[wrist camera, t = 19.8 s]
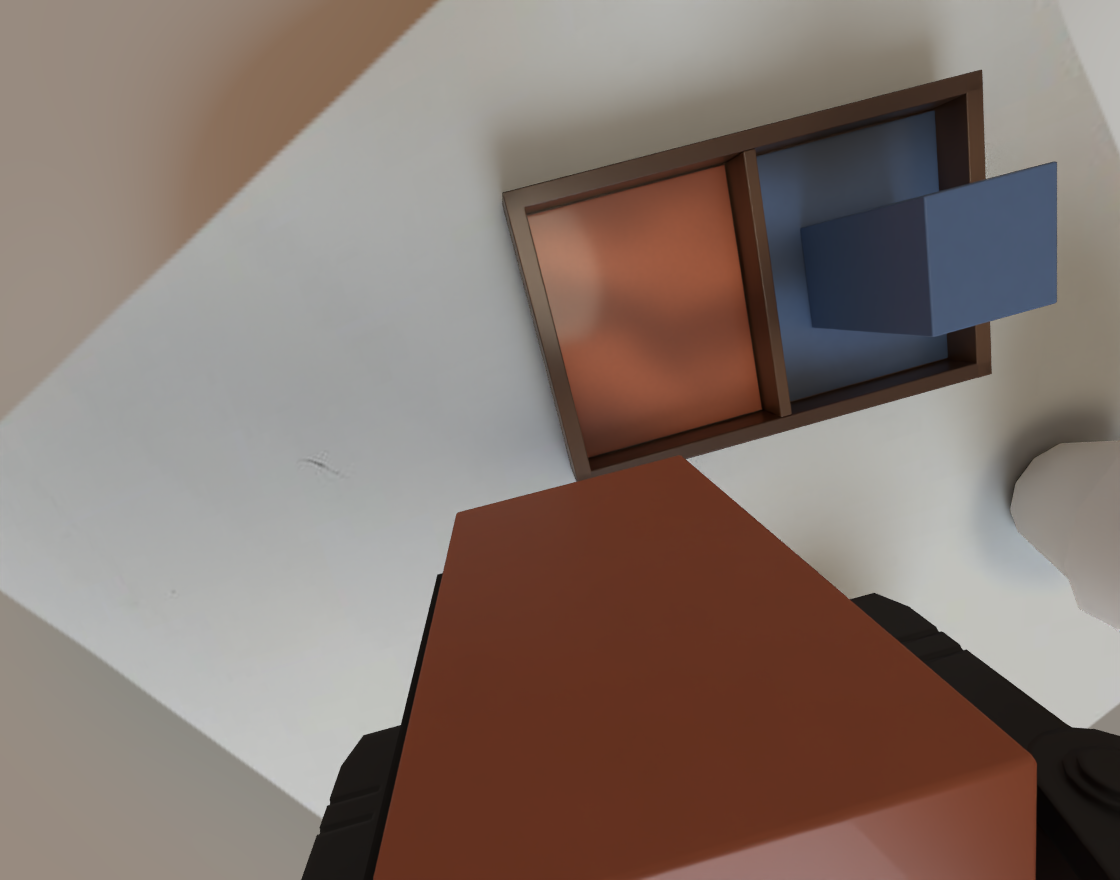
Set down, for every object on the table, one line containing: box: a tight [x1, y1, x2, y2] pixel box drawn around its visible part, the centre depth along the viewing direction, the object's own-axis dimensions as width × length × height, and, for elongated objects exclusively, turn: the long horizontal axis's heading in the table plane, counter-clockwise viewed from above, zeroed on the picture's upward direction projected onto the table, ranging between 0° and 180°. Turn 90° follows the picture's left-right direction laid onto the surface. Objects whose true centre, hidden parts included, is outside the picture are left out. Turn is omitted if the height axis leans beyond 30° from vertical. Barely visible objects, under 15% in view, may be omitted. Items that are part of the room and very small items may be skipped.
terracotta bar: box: [373, 455, 1037, 880], centre depth 8 cm, size 5×5×8 cm
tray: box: [502, 70, 992, 482], centre depth 26 cm, size 14×22×3 cm, turn 104°
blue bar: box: [801, 162, 1057, 337], centre depth 23 cm, size 5×5×8 cm
